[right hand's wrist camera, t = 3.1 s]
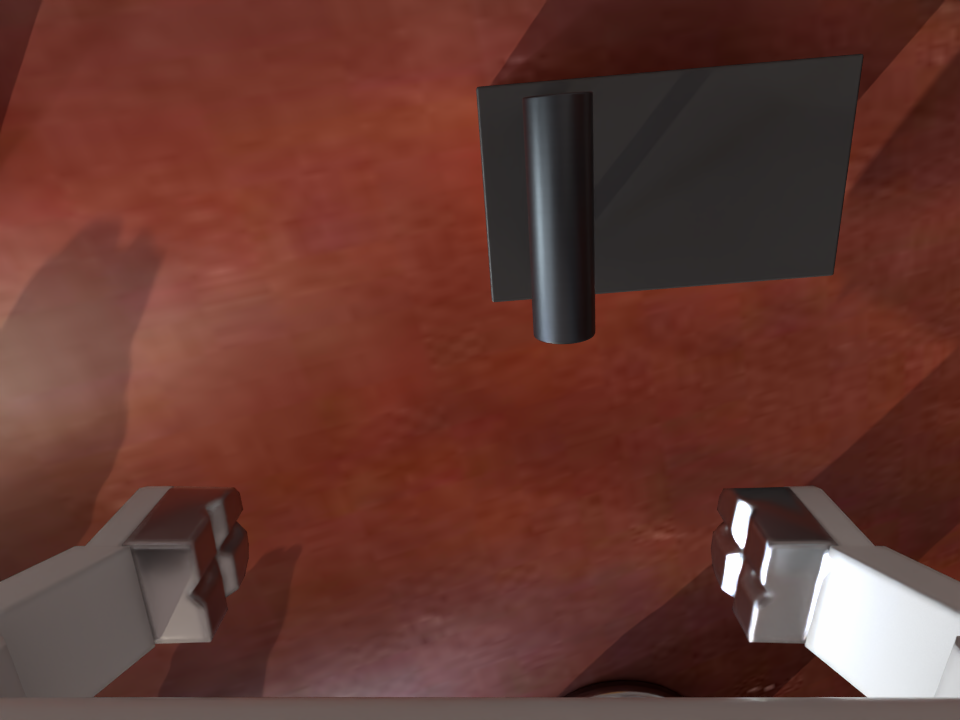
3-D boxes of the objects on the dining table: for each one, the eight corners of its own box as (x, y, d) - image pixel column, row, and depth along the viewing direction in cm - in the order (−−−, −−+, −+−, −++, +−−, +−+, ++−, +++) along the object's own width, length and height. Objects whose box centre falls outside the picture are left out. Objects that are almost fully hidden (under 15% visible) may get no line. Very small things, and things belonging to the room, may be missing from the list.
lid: (491, 297, 29) (499, 369, 20) (476, 88, 25) (477, 72, 17) (824, 271, 28) (967, 333, 20) (852, 55, 25) (1038, 24, 17)
